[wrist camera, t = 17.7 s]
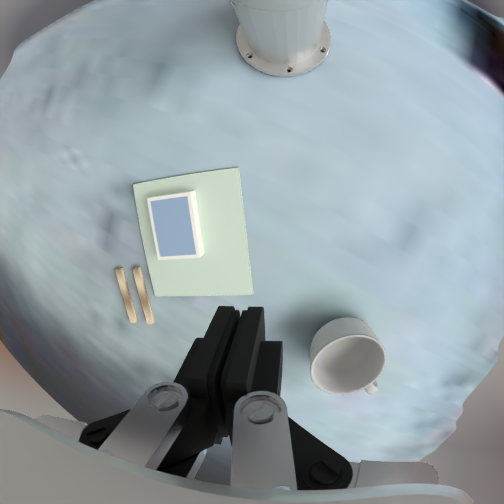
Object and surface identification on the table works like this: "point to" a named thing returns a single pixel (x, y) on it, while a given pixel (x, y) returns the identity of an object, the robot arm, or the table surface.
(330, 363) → the teacup
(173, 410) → the robot arm
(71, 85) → the table surface
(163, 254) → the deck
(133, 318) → the holder
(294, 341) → the table surface
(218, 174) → the mat
